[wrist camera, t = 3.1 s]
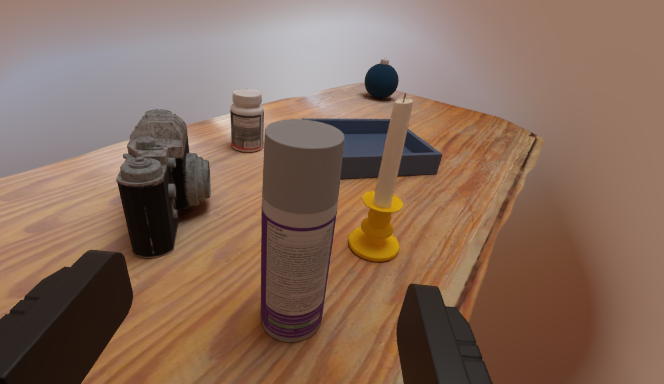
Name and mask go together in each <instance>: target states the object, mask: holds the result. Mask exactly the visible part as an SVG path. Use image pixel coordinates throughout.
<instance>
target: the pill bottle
mask: <svg viewBox="0 0 664 384" xmlns="http://www.w3.org/2000/svg"><path fill="white" fill-rule="evenodd" d="M233 102H234V104H232V106H231V136H232V147H233V148H234V149H236V150H238V151H241V152H255V151H258V150H260V149H262V147H263V122H264V110H263V107H262V106H261V105H260V104H261V102H262V99H261V93H260V92H258V91H255V90H248V89H240V90H235V91H233Z"/></svg>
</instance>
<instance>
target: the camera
mask: <svg viewBox="0 0 664 384" xmlns="http://www.w3.org/2000/svg"><path fill="white" fill-rule="evenodd" d="M127 148H128V153H129V154H123V158H125V159H126V160H125V162H124V163H123V164H122V166H121V167H120V169H121V170H120V173H119V175H118V177H117V179H116V180H117V182H118V187H119V191H120V196H121V200H122V205H123V209H124V214H125V218H126V222H127V227H128V231H129V236H130V240H131V245H132V249H133V250H132V251H133V254H135V255H136V256H139V257H142V258H155V257H160V256H163V255H165V254H168V253H170V252H171V251H173V250H174V244H175V238H176V232H177V227H178V221H179V213H180V210H181V209H188V208H191V206H199V203H200V202H204V201H205V198H210V193H211V191H210V169H209V161H207V160H203V158H202V157H198V156H197V154H196V153H189V145H188V136H187V127H186V123H185V122H184V121H183V120H182V119H181V118H179V117H178V116H177V115H176V114H172V112H171V111H168V110H150V111H147V112H146V113H145V116H143V117H142V119H141V120H140V122H139V123H138V125H137V126H136V127H135V129H134V131H133V132H132V134H131V135H130V141H129V143H128V145H127Z"/></svg>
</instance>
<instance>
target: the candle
mask: <svg viewBox="0 0 664 384" xmlns="http://www.w3.org/2000/svg"><path fill="white" fill-rule="evenodd" d="M405 97H406V94H405V95H404V99H398V100H396V101H395V103H394V107H393V111H392V115H391V119H390V123H389V128H388V132H387V137H386V142H385V147H384V152H383V157H382V161H381V166H380V171H379V176H378V181H377V185H376V190H375V191H370V192H367V193H365V194H364V195H363V202H364V204H365V205H366V206H368V207H369V208H370V210H369V212H368V218H366V219H364V220H363V221H362V224H361V227H360V228H357V229H355V230H353V231H352V232H351V233H350V235H349V240H348V243H349V247H350V248H351V250H352V251H353V252H354V253H355V254H356V255H358V256H359V257H361V258H363V259H366V260H369V261H374V262H383V261H388V260H391V259H393V258H394V257H395V256H397V254H398V251H399V243H398V240H397V239H396V238H395V236H393V235H392V233H393V226H392V225H391V223H390V220H391V213H394V212H398V211H399V210H401V209H402V207H403V202H402V200H401V199H400V198H398V197H397V196H396V195H393V193H394V189H395V184H396V180H397V175H398V170H399V166H400V161H401V157H402V152H403V148H404V143H405V139H406V134H407V129H408V125H409V120H410V115H411V109H412V104H413V100H412V99H405Z"/></svg>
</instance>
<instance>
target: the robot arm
mask: <svg viewBox="0 0 664 384" xmlns="http://www.w3.org/2000/svg"><path fill="white" fill-rule="evenodd" d="M132 300H133V291H132V287H131V283H130V278H129V274H128V270H127V265H126V261H125V257H124V255H123V254H122V253H118V252H109V251H99V250H89V251H87V252H86V253H84V254H83V255H82V256H81V257H80V258H79V259H78V260H77V261H76V262H75V263H74V264H73V265H72V266H71V267H64V268H62V269H60V270H59V271H57V272H55V273H53V274H52V275H50V276H48V277H47V278H45V279H43V280H42V281H41V282H40V283H38V284H37V285H36V286H35V287H34V288H33V289H32V290H31V291H30V292H29V293H28V294H27V295H26V296H25V298H24V300H20V301H19V302H18V303H17V304H16V305H15V306H14V307H13V308H12V309H11V310H10V313H9V314H6V315H5V316H4V317H2V318H1V319H0V384H81V383H82V381H83V380H84V378H85V377H86V375H87V374H88V372H89V371H90V370H91V368H92V367H93V365H94V364H95V362H96V361H97V359H98V358H99V356H100V355H101V353H102V352H103V350H104V349H105V347H106V346H107V344H108V343H109V341H110V340H111V338H112V337H113V335H114V334H115V332H116V331H117V329H118V328H119V326H120V325H121V323H122V322H123V321H124V319H125V318H126V316H127V314H128V312H129V310H130V308H131V305H132ZM397 345H398V351H399V357H400V363H401V369H402V375H403V382H404V384H493V383H492V381H491V378H490V376H489V373H488V371H487V368H486V366H485V363H484V361H482V355H481V353H480V350H479V348H478V346H477V345H476V340H475V338H474V335H473V333H472V330H471V327H470V325H469V323H468V322H467V321H466V319H465V318H464V317H463V316H462V315H461V313H460V312H459V311H458V310H457V308H456V307H446V306H445V304H444V301H443V298H442V295H441V292H440V290H439V288H438V287H437V286H429V285H419V284H410V285H409V286H408V289H407V292H406V295H405V299H404V302H403V305H402V308H401V312H400V315H399V318H398V323H397Z"/></svg>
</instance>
